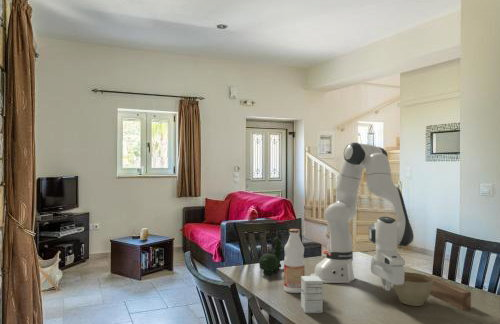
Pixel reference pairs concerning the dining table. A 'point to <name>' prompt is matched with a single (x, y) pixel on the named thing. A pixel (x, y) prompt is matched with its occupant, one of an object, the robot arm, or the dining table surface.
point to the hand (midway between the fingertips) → (386, 289)
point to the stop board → (451, 294)
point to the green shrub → (272, 259)
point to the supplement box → (311, 294)
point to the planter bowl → (414, 289)
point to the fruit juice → (293, 262)
